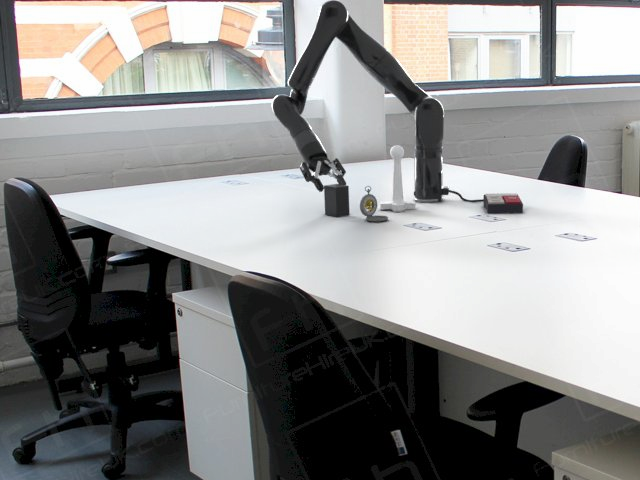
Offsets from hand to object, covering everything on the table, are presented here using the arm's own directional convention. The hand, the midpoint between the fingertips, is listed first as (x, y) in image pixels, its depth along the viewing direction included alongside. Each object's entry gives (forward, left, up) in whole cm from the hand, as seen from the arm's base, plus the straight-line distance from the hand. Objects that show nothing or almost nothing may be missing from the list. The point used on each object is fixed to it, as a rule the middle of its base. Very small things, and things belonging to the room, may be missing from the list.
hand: (333, 188), depth 326 cm
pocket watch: (-14, +10, -8) cm, 19 cm away
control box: (-52, -10, -8) cm, 54 cm away
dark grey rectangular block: (-1, +1, -8) cm, 8 cm away
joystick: (-19, -8, -8) cm, 22 cm away
